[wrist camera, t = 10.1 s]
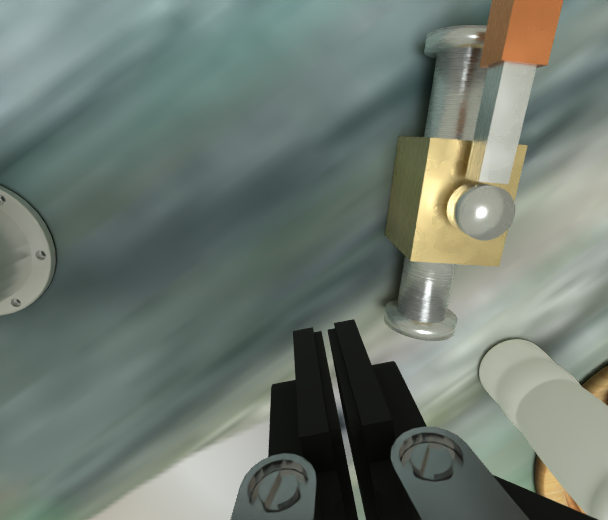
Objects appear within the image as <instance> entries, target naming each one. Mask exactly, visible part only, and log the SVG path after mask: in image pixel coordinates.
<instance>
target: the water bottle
mask: <svg viewBox="0 0 608 520" xmlns="http://www.w3.org/2000/svg"><path fill="white" fill-rule="evenodd" d="M479 377H480V381H481V383H482V385H483V387H484V388H485V390H486V391H487V392H488V394H489V395H490V396H491V397H492V398H493V399H494V400H495V401H496V402H497V403H498V404H499V405H500V406H501V408H502V410H503V412H504V413H505V415H506V416H507V417H508V419H509V420H510V421H511V422H512V423H513V424H514V425H515V426H516V427H517V428H518V429H519V430H520V431H521V432H522V433H523V435H524V436H525V438H526V439H527V441H528V442H529V444H530V445H531V447H532V448H533V449H534V451H535V452H536V454H537V455H538V456H539V458H540V459H541V460H542V462H543V463H544V464H545V465H546V467H547V468H548V469H549V471H550V472H551V473H552V474H553V476H554V477H555V478H556V479H557V481H558V482H559V483H560V484H561V485H562V487H563V488H564V489H565V490H566V492H567V493H568V494H569V495H570V496H571V497H572V499H573V500H574V501H575V502H576V503H577V504H578V505H579V506H580V508H581V509H582V510H583V511H584V512H585V513H586V514H587V515H589V516H591V517H593V518H596V519H598V520H608V406H607V405H606V404H605V403H603V402H602V401H601V400H600V399H598V398H597V397H596V396H594V395H593V394H592V393H590V392H589V391H587V390H586V389H584V388H583V387H582V386H581V385H580V384H579V382H578V381H577V380H576V379H575V378H574V377H573V376H572V375H571V374H570V373H568V372H567V371H566V370H565V369H563V368H562V367H560V366H559V365H557V364H555V363H554V361H553V360H552V359H551V358H550V357H549V356H548V355H547V354H546V353H545V352H544V351H543V350H541V349H540V348H539V347H538V346H536V345H535V344H533V343H532V342H529V341H526V340H521V339H513V340H507V341H504V342H502V343H499V344H497V345H496V346H494V347H493V348H492V349H490V350H489V351H488V353H487V354H486V355H485V356H484V358H483V360H482V362H481V365H480V369H479Z"/></svg>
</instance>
